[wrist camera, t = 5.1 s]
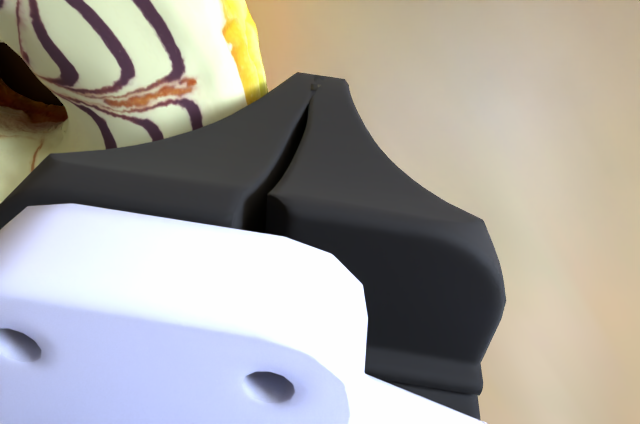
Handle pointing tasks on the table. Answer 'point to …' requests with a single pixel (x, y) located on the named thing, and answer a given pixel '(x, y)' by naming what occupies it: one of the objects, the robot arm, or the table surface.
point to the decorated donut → (122, 74)
